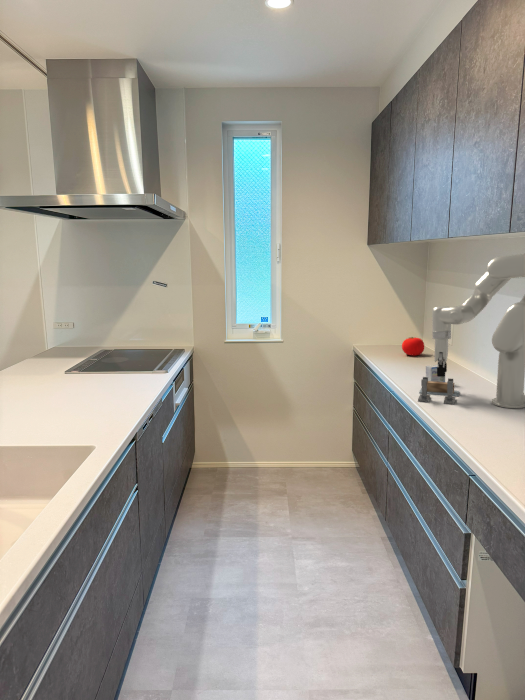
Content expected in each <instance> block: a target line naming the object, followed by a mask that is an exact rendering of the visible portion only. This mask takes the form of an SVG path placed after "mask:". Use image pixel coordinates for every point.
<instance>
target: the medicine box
mask: <svg viewBox="0 0 525 700" xmlns="http://www.w3.org/2000/svg"><path fill="white" fill-rule="evenodd" d="M437 365H438V364H435V365H427V366H425V377H428V381H434V382H446V376H445V377H438V376H437Z"/></svg>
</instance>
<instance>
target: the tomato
mask: <svg viewBox="0 0 525 700" xmlns="http://www.w3.org/2000/svg"><path fill="white" fill-rule="evenodd" d="M401 349H402V351H403V352H404V354H406V355H408V356H414V357H415V356H417V357H418V356H420V355H422V354H423V352H424V350H425V342H424V341H423V339H421V338H419V337H417V336H416V337H415V336H414V337H413V336H411V337H407V338H406V339H404V340H403V341H402V343H401Z"/></svg>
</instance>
